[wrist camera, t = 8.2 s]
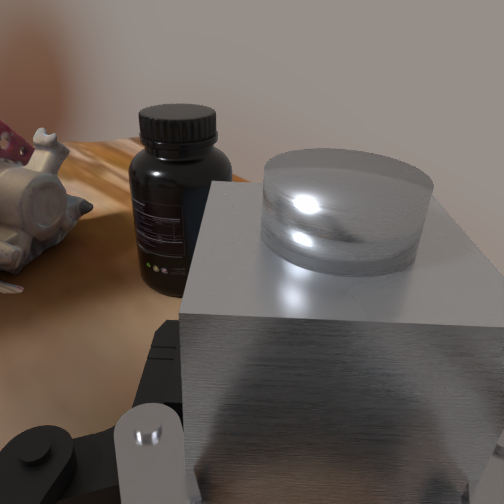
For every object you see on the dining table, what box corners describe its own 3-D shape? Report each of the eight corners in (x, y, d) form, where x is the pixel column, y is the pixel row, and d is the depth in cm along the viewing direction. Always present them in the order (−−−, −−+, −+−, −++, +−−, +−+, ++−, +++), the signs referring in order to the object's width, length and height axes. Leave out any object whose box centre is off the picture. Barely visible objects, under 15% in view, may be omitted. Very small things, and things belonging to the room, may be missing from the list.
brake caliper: (-4, 185, 42) (40, 83, 35) (86, 266, 43) (145, 182, 36) (-132, 236, 33) (-105, 111, 26) (-15, 340, 33) (41, 244, 27)
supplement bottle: (175, 244, 38) (167, 95, 32) (247, 265, 36) (253, 107, 30) (119, 283, 33) (97, 112, 27) (199, 311, 30) (194, 129, 24)
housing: (411, 693, 11) (641, 270, 5) (174, 685, 11) (134, 247, 5) (363, 476, 16) (453, 135, 10) (200, 469, 16) (196, 122, 10)
